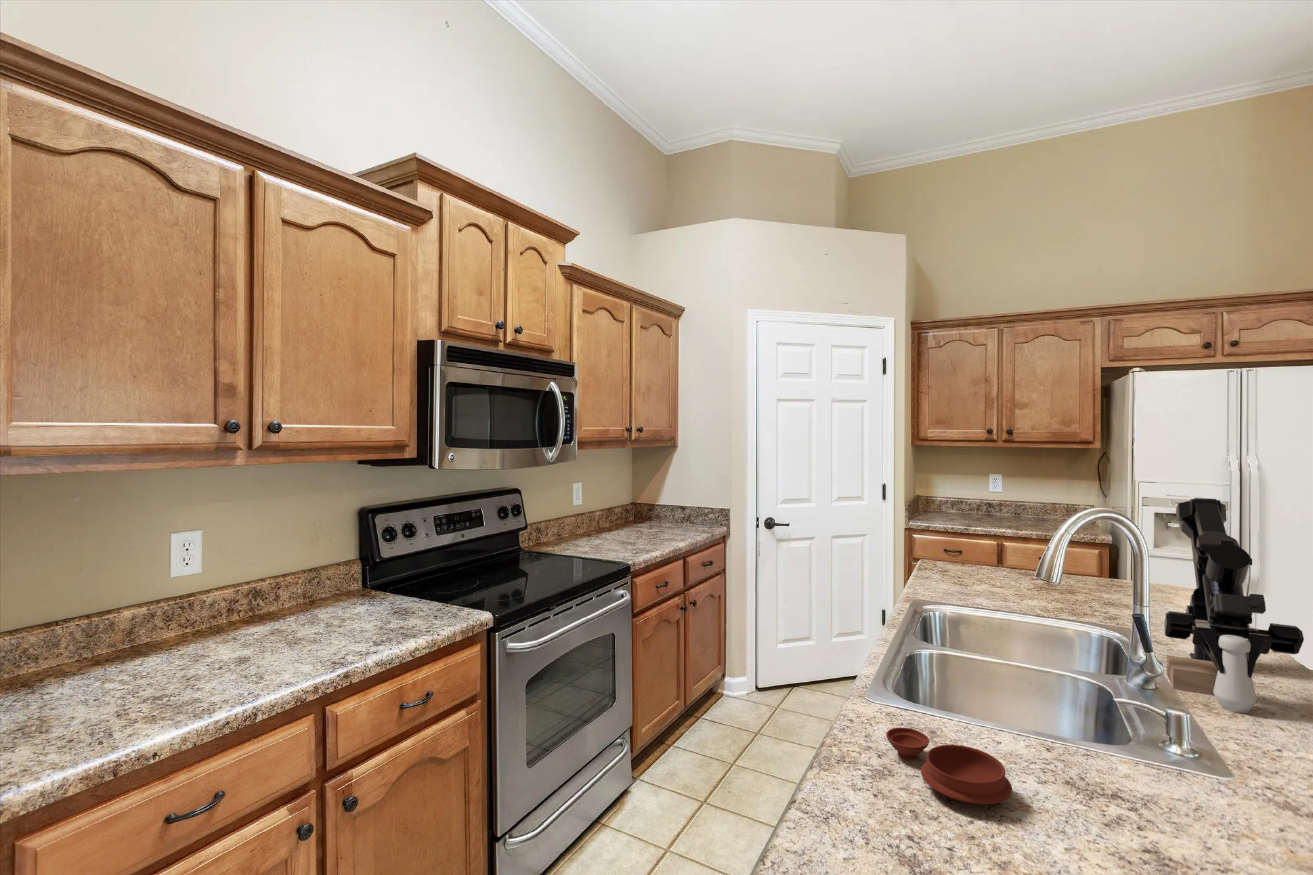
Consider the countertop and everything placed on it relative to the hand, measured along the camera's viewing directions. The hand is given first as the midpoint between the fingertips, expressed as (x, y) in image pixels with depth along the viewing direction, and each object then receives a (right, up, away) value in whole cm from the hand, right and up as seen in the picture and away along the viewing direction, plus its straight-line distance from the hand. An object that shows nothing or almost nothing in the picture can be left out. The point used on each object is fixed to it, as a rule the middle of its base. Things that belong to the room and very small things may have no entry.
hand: (1235, 674), depth 112 cm
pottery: (-61, -9, -18) cm, 64 cm away
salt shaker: (+1, -7, +1) cm, 7 cm away
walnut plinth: (+2, -6, +11) cm, 13 cm away
